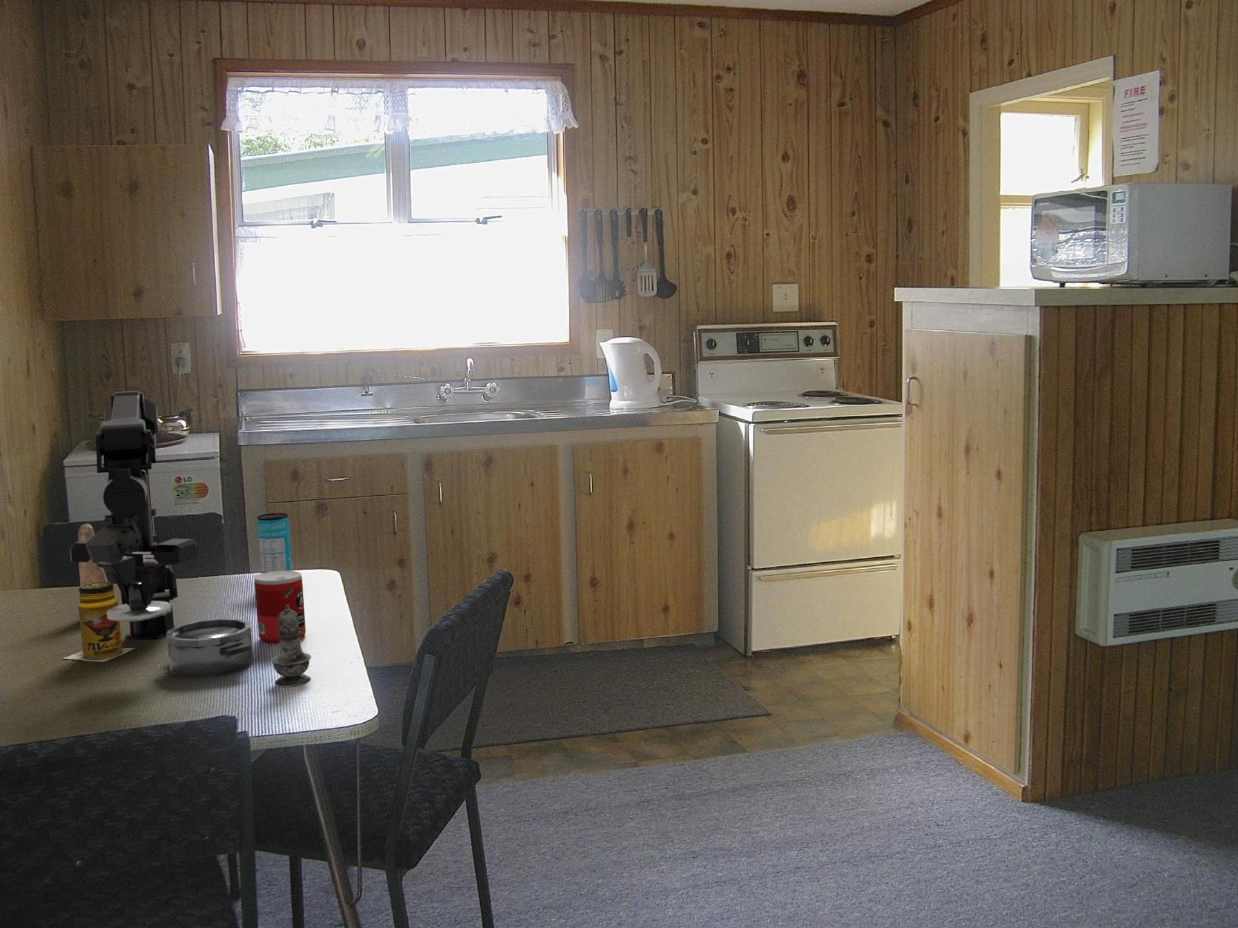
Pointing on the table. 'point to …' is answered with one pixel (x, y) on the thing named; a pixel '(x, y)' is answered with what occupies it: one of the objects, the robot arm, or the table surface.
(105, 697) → the table surface
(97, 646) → the condiment
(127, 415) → the robot arm
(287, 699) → the table surface
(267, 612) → the canned food
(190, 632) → the pot
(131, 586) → the lid
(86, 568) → the pink tall tapered cone
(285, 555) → the beverage can
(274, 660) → the salt shaker
